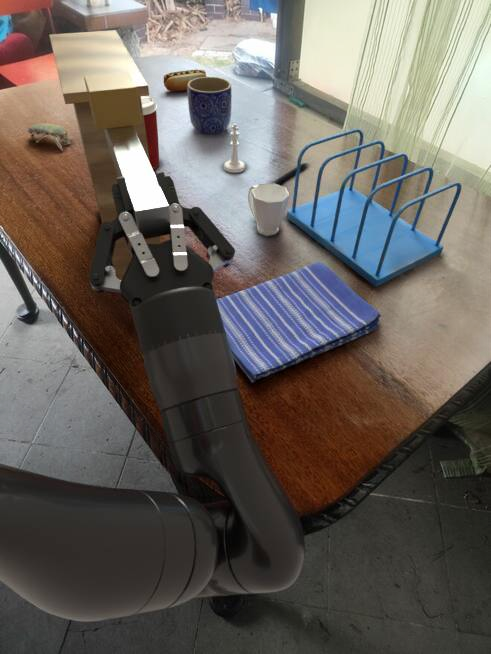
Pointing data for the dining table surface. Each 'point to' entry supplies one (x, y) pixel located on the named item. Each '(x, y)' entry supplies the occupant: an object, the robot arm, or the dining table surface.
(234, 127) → the chess piece
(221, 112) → the planter
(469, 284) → the dining table surface
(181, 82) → the hot dog
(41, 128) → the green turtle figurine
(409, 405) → the dining table surface
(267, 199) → the cup
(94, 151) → the stand
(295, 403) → the dining table surface
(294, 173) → the pen
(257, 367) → the dish towel
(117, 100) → the mallet
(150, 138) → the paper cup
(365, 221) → the file sorter
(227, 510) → the robot arm
